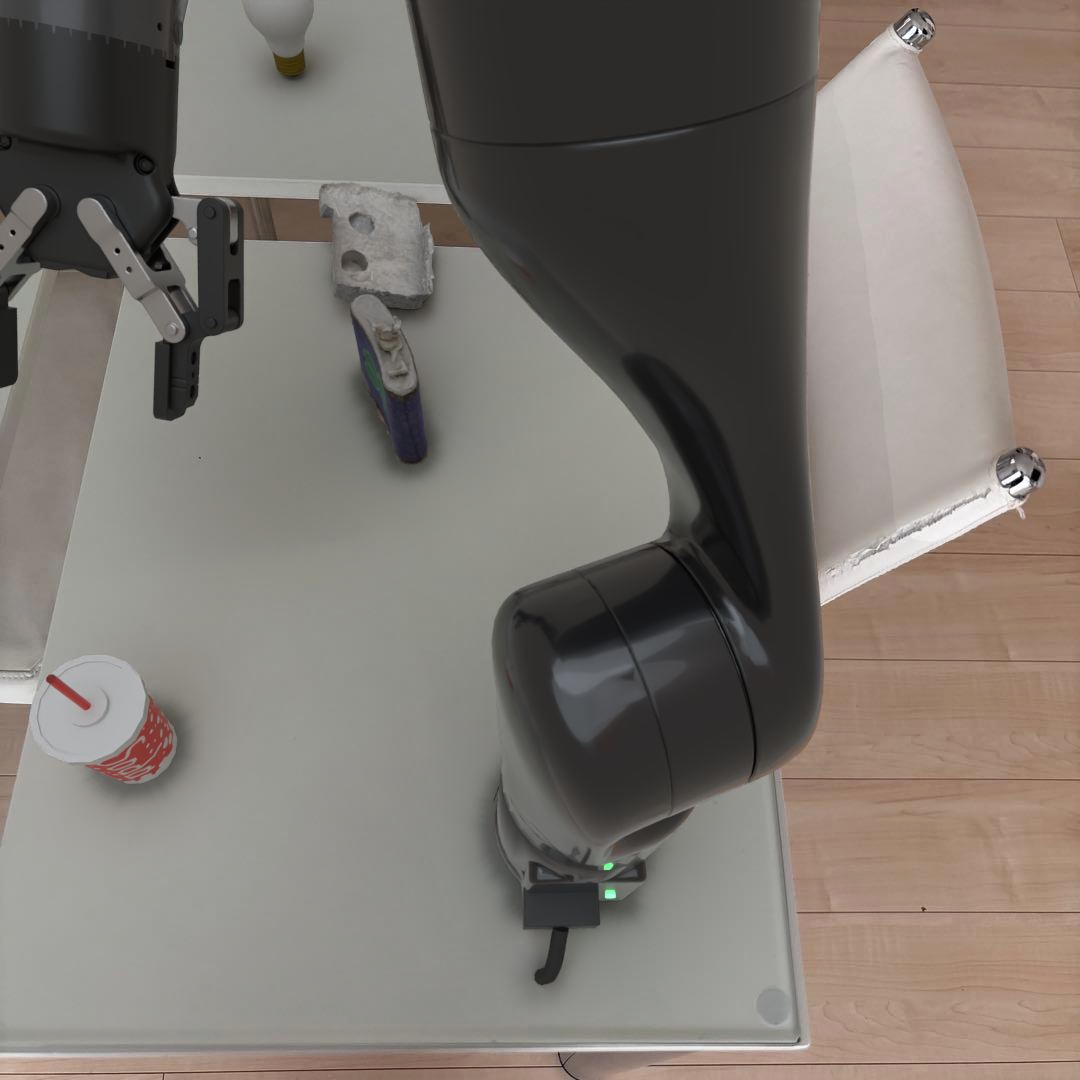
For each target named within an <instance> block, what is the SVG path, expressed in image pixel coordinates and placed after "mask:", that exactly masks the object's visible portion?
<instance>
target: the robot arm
mask: <svg viewBox="0 0 1080 1080" xmlns="http://www.w3.org/2000/svg"><path fill="white" fill-rule="evenodd" d="M404 2H405V3H404V4H405V7H406V11H407V12H406V13H407V17H408V22H409V23H408V24H409V28H410V31H411V33H410V34H411V37H412V42H413V49H414V54H415V59H416V63H417V68H418V69H417V70H418V73H419V79H420V84H421V89H422V95H423V100H424V103H425V104H424V105H425V109H426V115H427V119H428V122H429V124H428V125H429V130H430V134H431V140H432V144H433V149H434V154H435V158H436V163H437V166H438V167H437V168H438V173H439V175H440V178H441V181H442V184H443V186H444V190H445V193H446V195H447V197H448V199H449V201H450V203H451V205H452V208H453V209H454V211H455V212H456V214H457V216H458V218H459V220H460V222H461V223H462V225H463V226H464V228H465V229H466V231H467V232H468V233H469V235H470V236H471V238H472V239H473V241H474V242H475V244H476V245H477V246H478V248H479V250H480V251H481V252H482V254H483V255H484V256H485V257H486V258H487V260H488V261H489V263H490V264H491V265H492V266H493V267H494V268H495V270H496V271H497V272H498V274H499V275H500V276H501V277H502V278H503V279H504V280H505V282H506V283H507V284H508V285H509V286H510V287H511V288H512V289H513V290H514V291H515V292H516V294H517V295H518V296H519V297H520V298H521V299H522V300H523V301H524V303H525V304H526V305H528V307H529V309H531V310H532V312H533V313H534V314H536V316H538V317H539V319H540V320H541V321H542V322H543V323H545V324H546V325H547V327H549V329H551V331H552V332H553V333H554V334H555V335H556V336H557V337H558V338H559V339H560V340H561V341H562V342H563V343H564V344H565V345H567V347H568V348H569V349H570V350H571V351H572V352H573V353H574V354H575V355H576V356H577V357H578V358H580V360H581V361H583V363H584V364H586V366H587V367H588V368H589V369H590V370H592V372H593V373H595V375H597V376H598V377H599V378H600V379H601V380H602V381H603V382H604V383H605V385H606V386H607V387H608V388H609V389H610V390H611V391H612V392H613V393H614V395H615V396H616V397H617V398H618V399H619V401H621V402H622V403H623V405H624V406H625V408H627V410H628V411H629V412H630V414H631V415H632V416H633V418H634V419H635V420H636V422H637V423H638V425H639V426H640V427H641V429H642V430H643V432H644V433H645V434H646V435H647V437H648V439H649V440H650V441H651V442H652V444H653V446H654V447H655V449H656V451H657V453H658V456H659V459H660V462H661V464H662V468H663V471H664V477H665V479H666V486H667V492H668V498H669V501H668V502H669V506H668V507H669V516H668V522H667V525H666V527H665V529H664V532H662V535H661V536H660V537H658V538H656V539H654V540H651V541H649V542H646V543H643V544H640V545H636V546H634V547H631V548H628V549H624V550H623V551H620V552H617V553H615V554H612V555H611V554H610V555H608V556H606V557H603V558H600V559H597V560H594V561H592V562H589V563H586V564H582V565H580V566H578V567H575V568H572V569H570V570H565V571H563V572H560V573H557V574H554V575H552V576H549V577H546V578H543V579H540V580H538V581H534V582H532V583H529V584H527V585H524V586H522V587H519V588H518V589H516V590H514V591H513V592H512V593H510V594H509V595H508V596H507V597H506V598H505V599H504V600H503V602H502V603H501V604H500V606H499V608H498V610H497V612H496V615H495V617H494V620H493V626H492V633H491V656H492V658H491V660H492V672H493V678H494V685H495V693H496V714H497V724H498V733H499V740H500V746H501V764H500V775H499V784H498V787H497V788H496V792H495V795H494V798H493V801H496V797H497V801H496V806H495V813H494V830H495V831H494V832H495V839H496V843H497V847H498V851H499V853H500V855H501V857H502V861H504V863H505V865H506V867H507V869H508V870H509V871H510V872H511V874H512V875H513V876H514V877H515V878H516V879H517V881H518V882H519V884H520V888H521V901H522V930H523V931H533V930H535V931H536V930H551V934H550V940H549V947H548V952H547V956H546V960H545V964H544V965H543V966H544V967H540V968H538V969H536V971H535V973H534V974H533V975H534V977H533V978H534V982H535V983H536V984H537V985H539V986H544V985H545V986H546V985H549V984H552V983H554V982H555V981H556V979H557V978H558V976H559V975H560V972H561V970H562V967H563V963H564V959H565V954H566V948H567V942H568V937H569V931H570V930H584V929H585V930H587V929H590V930H591V929H597V928H599V926H601V911H600V902H605V901H606V902H609V901H611V902H612V901H613V902H614V901H615V902H616V901H622V900H623V899H625V898H626V897H628V896H629V895H630V894H631V893H633V892H634V891H635V890H637V889H638V888H639V887H640V886H642V885H643V884H644V883H646V881H647V880H648V868H647V867H648V866H647V858H648V857H649V856H651V854H653V852H655V851H656V850H657V849H658V848H659V847H661V845H662V844H664V843H665V842H666V841H667V840H668V839H670V838H671V837H672V836H673V835H675V833H676V832H677V831H678V830H679V829H680V828H681V827H683V825H684V824H685V822H686V821H687V820H688V819H689V818H690V816H691V815H692V813H693V812H694V810H695V809H696V807H697V806H698V805H701V804H704V803H706V802H708V801H710V800H713V799H715V798H718V797H720V796H723V795H724V794H727V793H730V792H732V791H735V790H736V789H739V788H741V787H743V786H745V785H747V784H751V783H754V782H755V781H757V780H759V779H762V778H764V777H766V776H768V775H771V774H772V773H774V772H776V771H778V770H779V769H780V768H782V767H784V766H785V765H786V764H788V763H789V762H791V761H792V760H793V759H794V758H796V757H797V756H798V755H799V754H801V753H802V752H803V751H804V750H805V749H806V747H807V746H808V744H809V743H810V742H811V741H812V738H813V736H814V734H815V732H816V730H817V727H818V722H819V719H820V716H821V711H822V704H823V696H824V684H825V652H824V651H825V650H824V649H825V648H824V634H823V632H824V631H823V617H822V616H823V615H822V605H821V604H822V603H821V602H822V601H821V592H820V579H819V567H818V565H819V564H818V555H817V554H818V553H817V544H816V543H817V542H816V541H817V540H816V530H815V529H816V528H815V519H814V516H815V515H814V504H813V503H814V501H813V489H812V488H813V487H812V475H811V459H810V457H811V456H810V442H809V441H810V440H809V439H810V438H809V412H808V411H809V409H808V406H809V405H808V328H809V327H808V326H809V325H808V324H809V323H808V319H809V318H808V317H809V316H808V315H809V314H808V311H809V252H810V251H809V250H810V249H809V248H810V247H809V246H810V221H811V220H810V219H811V218H810V217H811V216H810V215H811V195H812V194H811V193H812V178H813V177H812V176H813V163H814V162H813V159H814V145H815V129H816V128H815V127H816V112H817V111H816V110H817V100H818V99H817V97H818V81H819V80H818V79H819V65H820V38H821V37H820V33H821V31H820V30H821V6H822V5H821V4H822V3H821V2H822V1H821V0H404ZM183 24H184V23H183V20H182V0H0V212H1V213H2V214H3V216H4V219H3V220H2V222H1V223H0V389H3V388H7V387H10V386H14V385H15V384H16V383H17V381H18V379H19V343H18V341H19V339H18V337H19V336H18V335H19V334H18V332H19V331H18V307H16V306H9V303H10V302H11V301H12V300H13V299H14V298H15V296H16V295H17V294H18V293H19V292H20V291H21V290H22V288H23V287H24V285H25V284H26V283H27V282H28V281H29V279H30V278H31V277H32V276H33V275H35V274H37V273H38V272H40V271H41V270H42V269H46V270H51V271H55V272H56V271H65V270H66V271H67V270H74V271H77V272H80V273H82V274H84V275H87V276H89V277H91V278H97V279H103V280H112V279H120V281H121V283H122V284H123V286H124V288H125V289H126V291H127V292H128V293H129V295H130V296H131V297H132V298H133V299H134V300H136V301H137V302H139V303H140V304H141V305H142V306H143V308H144V310H145V311H146V313H147V314H148V316H149V318H150V319H151V321H152V322H153V324H154V326H155V327H156V329H157V330H158V332H159V334H160V335H161V337H162V340H159V341H155V342H154V361H153V362H154V365H153V366H154V367H153V395H152V397H153V398H152V399H153V402H152V415H153V417H154V419H157V420H162V421H167V422H172V421H175V420H177V419H179V418H181V417H183V416H185V414H186V412H187V409H189V408H191V407H194V406H195V403H196V402H197V400H198V398H199V388H200V387H199V386H200V385H199V383H200V367H201V366H200V365H201V364H200V363H201V346H202V344H203V341H204V340H205V339H206V338H208V337H216V336H220V335H222V334H225V333H228V332H234V331H236V330H239V329H240V328H242V326H243V325H244V321H245V212H244V211H245V210H244V208H243V206H242V204H241V203H240V202H239V201H238V200H237V199H234V198H228V197H223V196H222V197H220V196H213V197H204V198H199V197H192V196H191V197H189V196H181V193H180V191H179V189H178V187H177V184H176V180H175V175H174V172H175V171H174V169H175V164H176V163H175V162H176V157H177V149H178V148H177V147H178V117H179V85H180V62H181V61H180V59H181V58H180V52H181V46H182V44H183V40H184V25H183ZM180 222H181V223H182V224H183V226H184V228H185V231H186V236H187V239H188V241H189V242H190V243H191V244H192V245H193V246H195V247H196V249H197V255H196V256H197V258H196V259H197V260H196V261H197V303H196V302H195V300H194V299H193V296H192V295H191V294H190V292H189V290H188V288H187V286H186V284H187V283H186V277H185V276H184V274H183V272H182V271H181V270H180V269H181V268H180V267H179V266H178V265H177V263H176V261H175V260H174V257H172V254H171V252H170V251H169V249H168V248H167V246H166V244H165V243H164V242H165V240H166V239H167V238H169V237H168V236H169V235H170V234H171V233H172V232H173V231H174V229H175V228H176V227H177V226H178V225H179V223H180Z"/></svg>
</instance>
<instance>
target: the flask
mask: <svg viewBox="0 0 1080 1080" xmlns="http://www.w3.org/2000/svg"><path fill="white" fill-rule="evenodd" d="M349 314H350V315H349V316H350V318H351V324H352V327H353V332H354V337H355V342H356V346H357V352H358V353H357V354H358V358H359V364H360V370H361V378H362V382H363V385H364V387H365V389H366V393H367V396H370V397H371V399H372V401H373V404H374V406H375V411H376V413H377V414H376V416H378V419H379V421H381V423H383V424H384V425H386V428H387V430H386V432H385V433H386V434H388V435H389V437H390V438H391V443H392V444H391V446H392V447H393V452H394V453H395V455H396V459H397V460H398V461H400V462H402V463H404V464H406V465H408V466H409V467H412V465H417V464H420V463H422V462H423V461H424V460H425V459H427V456H428V452H429V450H428V440H427V437H426V432H425V425H424V424H425V423H424V418H423V417H424V416H423V407H422V399H421V389H420V387H421V386H420V379H419V375H418V370H417V366H416V362H415V356H414V355H413V352H412V349H411V346H410V344H409V342H408V339H407V338H406V335H405V334H404V332H403V330H402V328H401V327H402V321H401V319H398V317H397V316H396V315H394V314H393V313H391V310H390V309H389V307H386V306H385V305H384V304H383V302H382V301H381V300H380V299H379V298H377V297H376V296H374V295H367V294H365V295H359V296H357V297H356V298H355V299H354V300H353V301H350V303H349Z"/></svg>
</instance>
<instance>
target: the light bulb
mask: <svg viewBox="0 0 1080 1080" xmlns="http://www.w3.org/2000/svg"><path fill="white" fill-rule="evenodd" d="M241 2H242V7H243V10H244V13H245V15H246V17H247V20H248V21H249V22H250V24H251V25H252V26H253V28H254V29H255V30H256V31H257V32H258V33H259V34H260V35H262V36H263V39H265V41H266V44H267V46H268V47H269V49H270V50H271V52H272V55H273V59H274V62H275V67H276V69H277V72H278V73H280V74H282V75H283V76H289V77H296V76H298V75H299V74H301V73H303V72H304V71H305V69H306V67H307V66H306V65H307V64H306V57H305V49H304V47H305V41H306V33H307V31H308V28H309V26H310V24H311V23H312V20H313V18H314V17H313V16H314V12H315V11H314V10H315V0H241Z"/></svg>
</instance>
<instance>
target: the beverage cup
mask: <svg viewBox="0 0 1080 1080" xmlns="http://www.w3.org/2000/svg"><path fill="white" fill-rule="evenodd" d="M28 721H29V727H30V730H31V734H32V738H33V740H34V741H35V743H36V744H37V745H38V746H39V747H40V748H41V750H42V751H43V752H44V753H45V754H46V755H47V756H49V757H51V758H54V759H56V760H59V761H60V762H63V763H66V764H68V765H70V766H84V767H85V768H89V769H90V770H93V771H96V772H98V773H101V774H103V775H104V776H105V775H106V776H107V777H110V778H112V779H114V780H116V781H119V782H122V783H124V784H127V785H132V784H138V785H139V784H144V783H147V782H149V781H151V780H154V779H156V778H158V777H159V776H160V775H161V774H162V773H163V772H165V771H166V770H168V768H169V767H170V765H171V763H172V761H173V759H174V758H175V756H176V754H177V747H178V741H179V739H178V736H177V734H176V730H175V727H174V725H173V724H172V723H171V722H170V720H169V719H168V717H167V716H166V715H165V713H164V712H163V711H162V710H161V708H160V707H159V706H158V704H157V703H156V702H155V700H154V699H153V698H152V697H151V696H150V694H149V692H148V690H147V685H146V682H145V680H144V679H143V678H142V676H140V674H139V673H138V672H137V671H136V670H135V669H134V668H133V666H131V665H130V664H129V662H127V661H125V660H123V659H119V658H118V657H115V656H112V655H109V654H85V655H83V656H80V657H76V658H74V659H72V660H69V661H66V662H64V663H62V664H61V665H60V666H58V667H57V668H56V669H55V670H54V671H52V672H51V673H50V674H48V675H47V676H46V677H44V680H43V682H42V683H41V685H39V687H38V689H37V691H36V692H35V694H34V695H33V697H32V701H31V706H30V710H29V717H28Z"/></svg>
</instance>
